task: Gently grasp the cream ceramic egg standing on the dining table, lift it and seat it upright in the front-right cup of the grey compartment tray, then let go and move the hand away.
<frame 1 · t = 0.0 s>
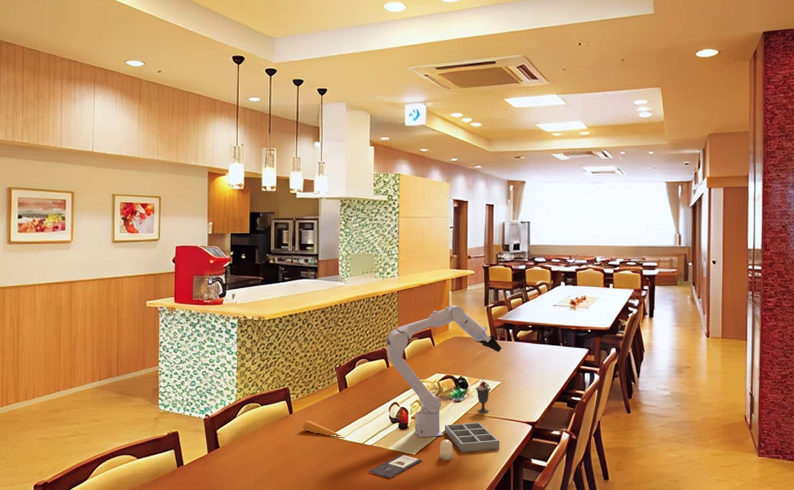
hand: (496, 348, 235), 32 cm above the table, tool tilted 50°, fingers open, 7 cm apart
grey compartment tray: (471, 440, 222), on the table
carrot: (324, 435, 231), on the table
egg: (446, 457, 206), on the table
chocolate bar: (395, 468, 198), on the table
sundae: (483, 411, 258), on the table
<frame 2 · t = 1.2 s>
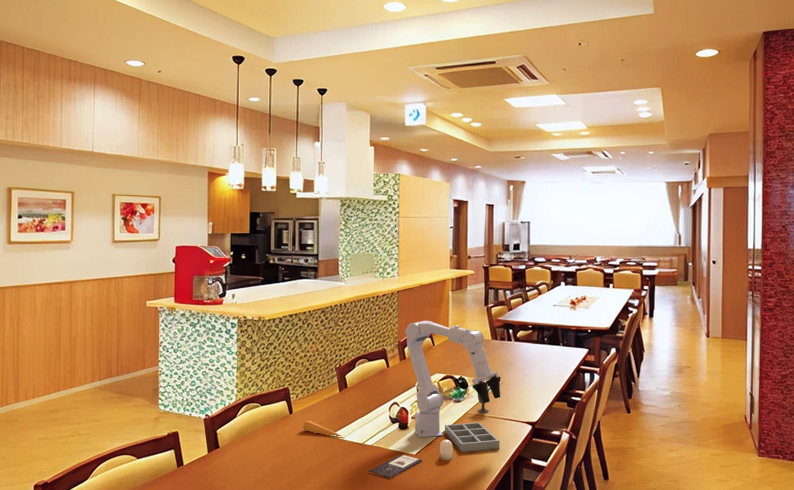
hand: (492, 400, 212), 18 cm above the table, tool tilted 20°, fingers open, 7 cm apart
nothing on the table moved.
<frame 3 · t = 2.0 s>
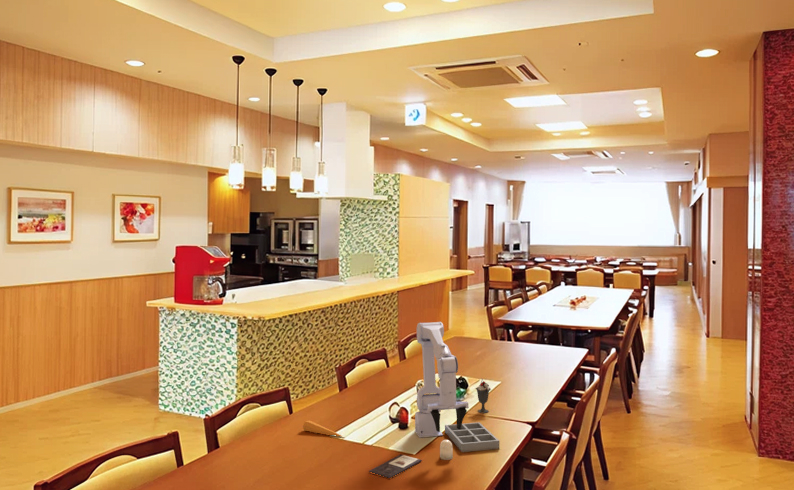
hand: (448, 429, 206), 10 cm above the table, tool pointing down, fingers open, 7 cm apart
nothing on the table moved.
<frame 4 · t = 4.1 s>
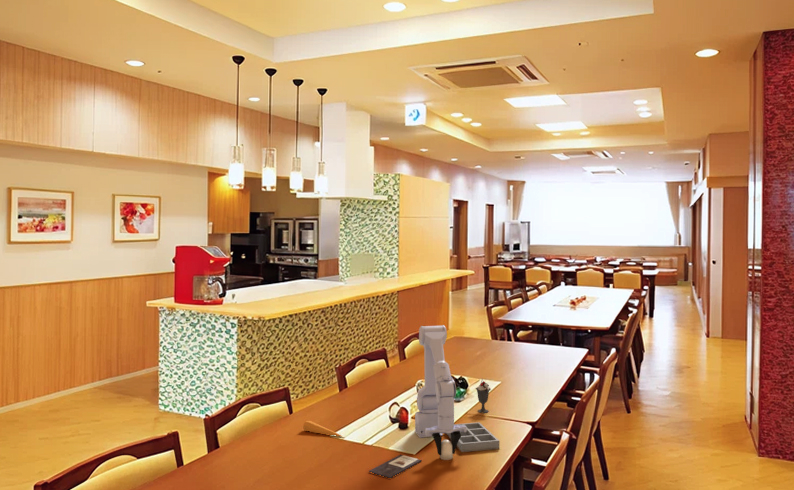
hand: (446, 453, 206), 1 cm above the table, tool pointing down, fingers closed on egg, 4 cm apart
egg: (446, 457, 206), on the table, touching gripper
everything else where it was.
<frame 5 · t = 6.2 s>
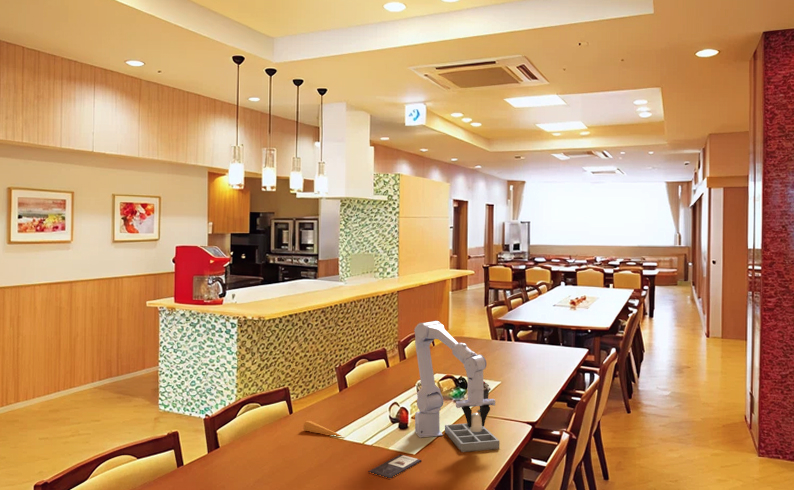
hand: (475, 425, 213), 8 cm above the table, tool pointing down, fingers closed on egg, 4 cm apart
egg: (475, 429, 213), point 7 cm above the table, touching gripper
everything else where it was.
when the fingers open (4 cm above the table, at t = 8.3 s): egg drops 2 cm, resting on grey compartment tray.
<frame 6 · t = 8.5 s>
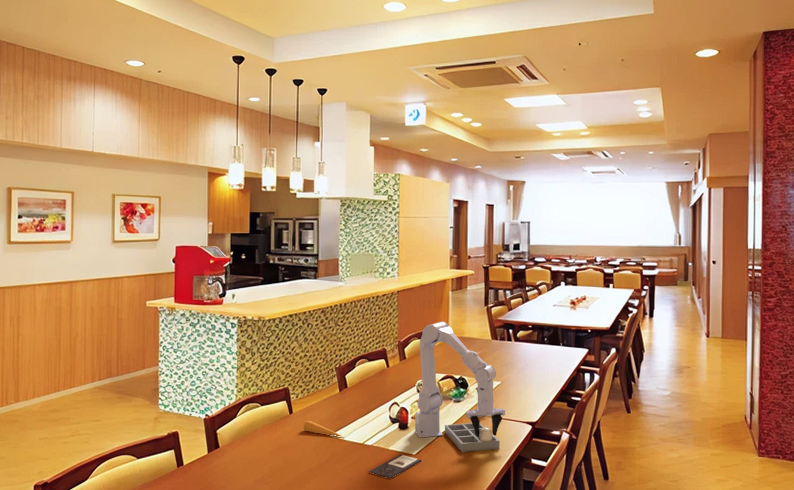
hand: (485, 435, 216), 4 cm above the table, tool pointing down, fingers open, 6 cm apart
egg: (486, 444, 216), point 1 cm above the table, touching grey compartment tray
everything else where it was.
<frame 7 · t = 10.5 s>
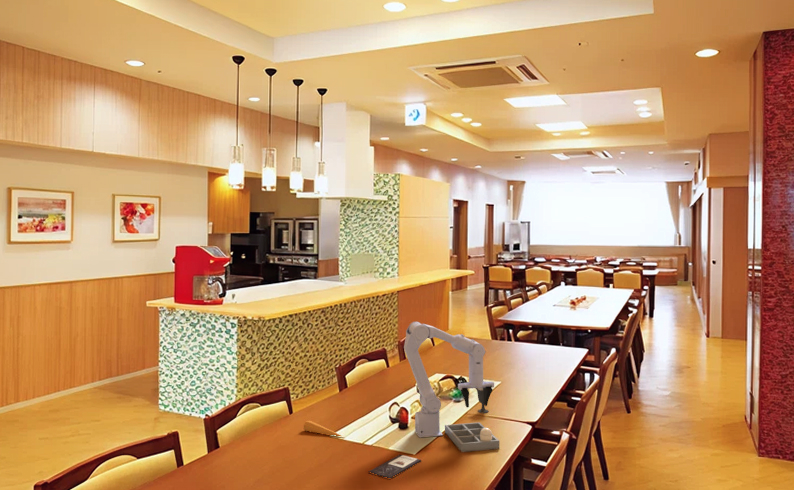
hand: (476, 406, 235), 9 cm above the table, tool pointing down, fingers open, 7 cm apart
nothing on the table moved.
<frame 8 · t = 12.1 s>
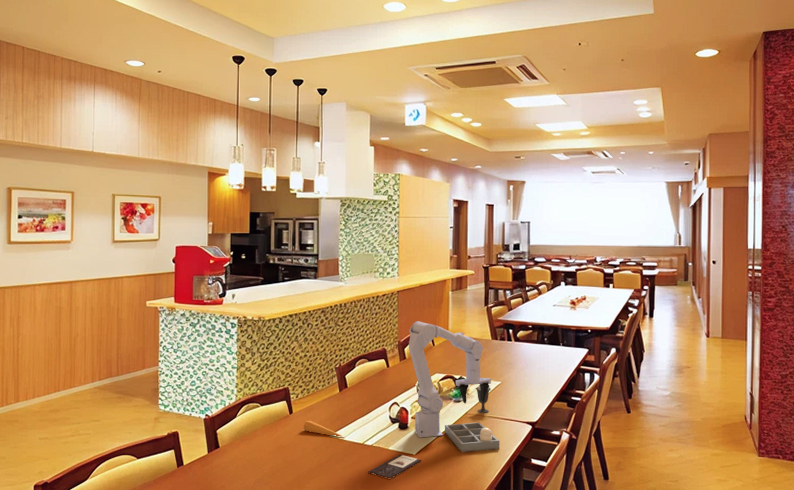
hand: (473, 401, 240), 9 cm above the table, tool pointing down, fingers open, 7 cm apart
nothing on the table moved.
at the end: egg 0.1 cm from the target spot on the grey compartment tray, point 0.5 cm above the grey compartment tray's base; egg tilted 1°; the gripper is holding nothing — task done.
